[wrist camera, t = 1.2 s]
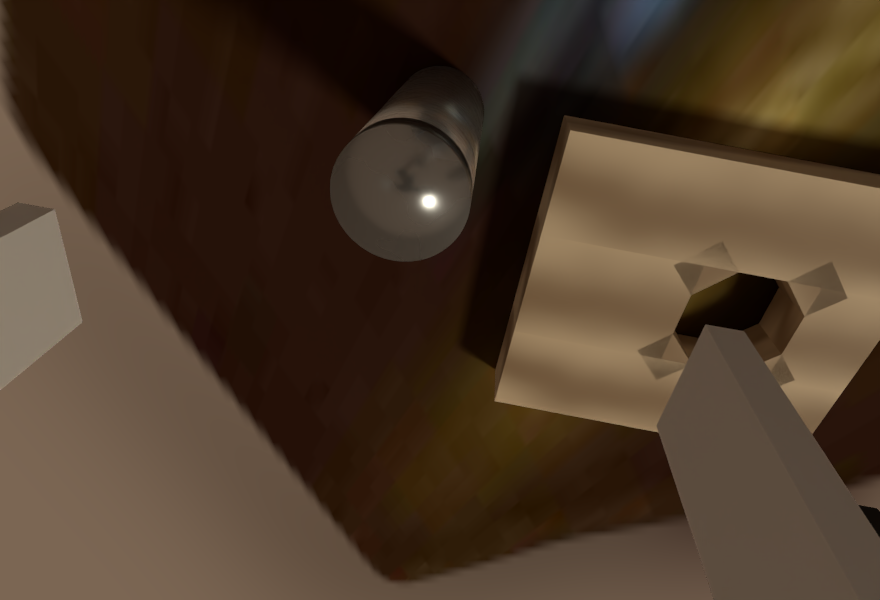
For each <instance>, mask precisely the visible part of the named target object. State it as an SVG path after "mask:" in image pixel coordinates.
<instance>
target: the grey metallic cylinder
mask: <svg viewBox="0 0 880 600" xmlns="http://www.w3.org/2000/svg"><path fill="white" fill-rule="evenodd" d="M483 120H484V105H483V100H482V97H481V94H480V92H479V90H478V88H477V86H476V85H475V84H474V82H473V81H472V80H471V79H470V78H469V77H468V76H467V75H465V74H464V73H463V72H461V71H459V70H457V69H455V68H452V67H448V66H430V67H427V68H424V69H421V70H419V71H418V72H416V73H415V74H413V75H412V76H411V77H410V78H409V79H408V80H407V81H406V82H405V83H404V84H403V85H402V86H401V87H400V88H399V89H398V91H397V92H396V93H395V94H394V95H393V96H392V97H391V98H390V99H389V100H388V101H387V102H386V104H385V105H384V106H383V107H382V108H381V109H380V110H379V111H378V112H377V113H376V114H375V115H374V117H373V118H372V119H371V120H370V121H369V122H368V123H367V124H366V125H365V126H364V127H363V128H362V129H361V131H360V132H359V133H358V134H357V135H356V136H355V137H354V138H353V139H352V140H351V141H350V142H349V144H348V145H347V146H346V147H345V148H344V149H343V151H342V152H341V153H340V155H339V157H338V158H337V160H336V163H335V165H334V167H333V171H332V175H331V181H330V196H331V202H332V206H333V210H334V212H335V215H336V217H337V219H338V221H339V223H340V225H341V226H342V228H343V229H344V230H345V232H346V233H347V234H348V235H349V236H350V238H351V239H352V240H353V241H355V242H356V243H357V244H358V245H359V246H361V247H362V248H364V249H365V250H367V251H368V252H370V253H372V254H374V255H377V256H379V257H382V258H385V259H389V260H394V261H418V260H422V259H426V258H429V257H431V256H434V255H436V254H438V253H440V252H441V251H443V250H444V249H446V248H447V247H448V246H449V245H451V244H452V243H453V242H454V241H455V240H456V238H457V237H458V236H459V235H460V233H461V231H462V230H463V228H464V226H465V224H466V221H467V219H468V215H469V211H470V205H471V198H472V192H473V185H474V179H475V172H476V166H477V159H478V153H479V146H480V140H481V133H482V127H483Z"/></svg>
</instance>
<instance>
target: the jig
mask: <svg viewBox="0 0 880 600" xmlns="http://www.w3.org/2000/svg"><path fill="white" fill-rule="evenodd" d="M738 272H740V273H745V274H751V275H756V276H761V277H766V278H772V279H775V280H776V282H777V284H778V286H779V289H778V290H777V292H776V294H775V296H774V297H773V299H772V301H771V303H770V305H769V306H768V308H767V310H766V312H765V314H764V315H763V317H762V319H761V321H760V322H759V324H756V325H754V326H752V327H749V328H747V329H745V330H743V331H744V332H745V333H746V335H747V336H748V338H749V339H750V341H751V342H752V344H753V346H754V347H755V349H756V350H757V352H758V353H759V355H760V356H761V358H762V359H763V361H764V362H765V364H766V365H767V367H768V368H769V370H770V371H771V373H772V374H773V376H774V377H775V379H776V381H777V382H778V384H779V385H780V387H781V388H782V390H783V391H784V393H785V394H786V396H787V397H788V399H789V400H790V402H791V403H792V405H793V406H794V408H795V409H796V411H797V413H798V414H799V416H800V417H801V419H802V420H803V422H804V423H805V425H806V426H807V428H808V429H809V431H810V432H811V434H813V432H814V431H815V429H816V428H817V427H818V425H819V424H820V422H821V421H822V420H823V418H824V417H825V415H826V414H827V413H828V411H829V410H830V408H831V407H832V406H833V404H834V403H835V401H836V400H837V399H838V397H839V396H840V394H841V393H842V392H843V390H844V389H845V387H846V386H847V385H848V383H849V382H850V380H851V379H852V378H853V376H854V375H855V373H856V372H857V371H858V369H859V368H860V366H861V365H862V364H863V362H864V361H865V360H866V358H867V357H868V355H869V354H870V353H871V351H872V350H873V348H874V347H875V346H876V344H877V343H878V341H879V340H880V174H875V173H870V172H864V171H859V170H854V169H848V168H843V167H838V166H832V165H827V164H822V163H816V162H811V161H806V160H800V159H795V158H790V157H784V156H779V155H774V154H768V153H763V152H758V151H752V150H747V149H742V148H736V147H731V146H726V145H720V144H715V143H710V142H704V141H699V140H694V139H688V138H683V137H678V136H672V135H667V134H662V133H656V132H651V131H646V130H640V129H635V128H630V127H625V126H619V125H614V124H609V123H603V122H598V121H593V120H587V119H582V118H577V117H571V116H566V115H564V118H563V121H562V125H561V129H560V132H559V136H558V140H557V143H556V147H555V151H554V155H553V158H552V162H551V166H550V169H549V173H548V177H547V180H546V184H545V188H544V192H543V195H542V199H541V203H540V206H539V210H538V214H537V217H536V221H535V225H534V229H533V232H532V236H531V240H530V243H529V247H528V251H527V255H526V258H525V262H524V266H523V269H522V273H521V277H520V280H519V284H518V288H517V292H516V295H515V299H514V303H513V306H512V310H511V314H510V317H509V321H508V325H507V329H506V332H505V336H504V340H503V343H502V347H501V351H500V354H499V358H498V362H497V366H496V369H495V401H497V402H503V403H508V404H513V405H518V406H523V407H529V408H534V409H539V410H544V411H550V412H555V413H560V414H565V415H571V416H576V417H581V418H586V419H591V420H597V421H602V422H607V423H612V424H618V425H623V426H628V427H633V428H639V429H644V430H649V431H654V432H658V429H657V423H658V421H659V419H660V417H661V415H662V413H663V411H664V409H665V407H666V405H667V403H668V401H669V399H670V397H671V394H672V392H673V390H674V388H675V386H676V384H677V382H678V380H679V378H680V376H681V374H682V372H683V370H684V368H685V365H686V363H687V361H688V359H689V357H690V355H691V353H692V351H693V349H694V347H695V345H696V343H697V341H698V339H699V338H696V337H691V336H686V335H681V334H677V333H676V331H675V328H676V326H677V324H678V322H679V320H680V317H681V315H682V313H683V311H684V309H685V307H686V305H687V302H688V300H689V298H690V296H691V295H692V294H694V293H697V292H699V291H701V290H703V289H705V288H707V287H709V286H711V285H713V284H715V283H718V282H720V281H722V280H724V279H726V278H728V277H730V276H732V275H734V274H736V273H738Z"/></svg>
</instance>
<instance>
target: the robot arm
mask: <svg viewBox="0 0 880 600" xmlns="http://www.w3.org/2000/svg"><path fill="white" fill-rule="evenodd" d="M81 323H82V318H81V314H80V310H79V306H78V301H77V298H76V293H75V290H74V285H73V281H72V278H71V273H70V269H69V265H68V261H67V257H66V253H65V249H64V245H63V240H62V237H61V233H60V228H59V224H58V220H57V216H56V212H55V209H50V208H44V207H39V206H34V205H28V204H22V203H16V204H14V205H12V206H9V207H8V208H5V209H3V210H1V211H0V390H1V389H2V388H3V387H5V386H6V385H7V384H8V383H9V382H11V381H12V380H13V379H14V378H16V377H17V376H18V375H19V374H20V373H22V372H23V371H24V370H25V369H26V368H27V367H29V366H30V365H31V364H32V363H34V362H35V361H36V360H37V359H38V358H40V357H41V356H42V355H43V354H45V353H46V352H47V351H48V350H49V349H51V348H52V347H53V346H54V345H55V344H57V343H58V342H59V341H60V340H61V339H63V338H64V337H65V336H66V335H68V334H69V333H70V332H71V331H72V330H74V329H75V328H76V327H77V326H78V325H80V324H81ZM657 429H658V432H659V435H660V438H661V441H662V444H663V447H664V450H665V453H666V456H667V459H668V462H669V465H670V468H671V471H672V474H673V477H674V480H675V483H676V486H677V490H678V493H679V496H680V499H681V502H682V505H683V508H684V511H685V514H686V517H687V520H688V523H689V526H690V529H691V532H692V535H693V538H694V541H695V544H696V547H697V551H698V554H699V557H700V559H701V563H702V566H703V569H704V572H705V575H706V578H707V581H708V584H709V587H710V590H711V593H712V596H713V599H714V600H880V511H879V510H878V509H877V508H871V507H866V506H861V505H858V504H857V502H856V501H855V499H854V498H853V496H852V495H851V493H850V492H849V490H848V489H847V487H846V486H845V484H844V483H843V481H842V480H841V478H840V477H839V475H838V473H837V472H836V470H835V469H834V467H833V466H832V464H831V463H830V461H829V460H828V458H827V457H826V455H825V454H824V452H823V451H822V449H821V448H820V446H819V445H818V443H817V441H816V440H815V438H814V437H813V435H812V434H811V432H810V431H809V429H808V428H807V426H806V425H805V423H804V422H803V420H802V419H801V417H800V416H799V414H798V413H797V411H796V409H795V408H794V406H793V405H792V403H791V402H790V400H789V399H788V397H787V396H786V394H785V393H784V391H783V390H782V388H781V387H780V385H779V384H778V382H777V381H776V379H775V377H774V376H773V374H772V373H771V371H770V370H769V368H768V367H767V365H766V364H765V362H764V361H763V359H762V358H761V356H760V355H759V353H758V352H757V350H756V349H755V347H754V346H753V344H752V342H751V341H750V339H749V338H748V336H747V335H746V333H745V332H744V331H740V330H734V329H729V328H723V327H717V326H712V325H706V324H705V326H704V328H703V330H702V332H701V334H700V337H699V339H698V341H697V343H696V345H695V347H694V349H693V351H692V353H691V355H690V357H689V359H688V361H687V363H686V365H685V368H684V370H683V372H682V374H681V376H680V378H679V380H678V382H677V384H676V386H675V388H674V390H673V392H672V394H671V397H670V399H669V401H668V403H667V405H666V407H665V409H664V411H663V413H662V415H661V417H660V419H659V421H658V423H657Z"/></svg>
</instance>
